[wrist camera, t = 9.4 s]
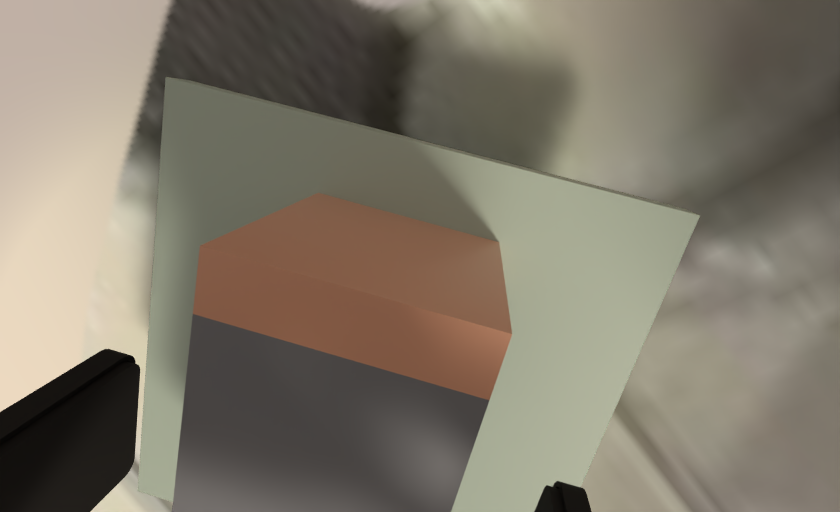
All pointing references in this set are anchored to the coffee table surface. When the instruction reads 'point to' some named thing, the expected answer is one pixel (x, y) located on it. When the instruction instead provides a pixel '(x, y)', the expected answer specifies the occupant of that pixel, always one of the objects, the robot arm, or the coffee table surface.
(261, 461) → the block
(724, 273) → the coffee table surface
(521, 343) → the stand
